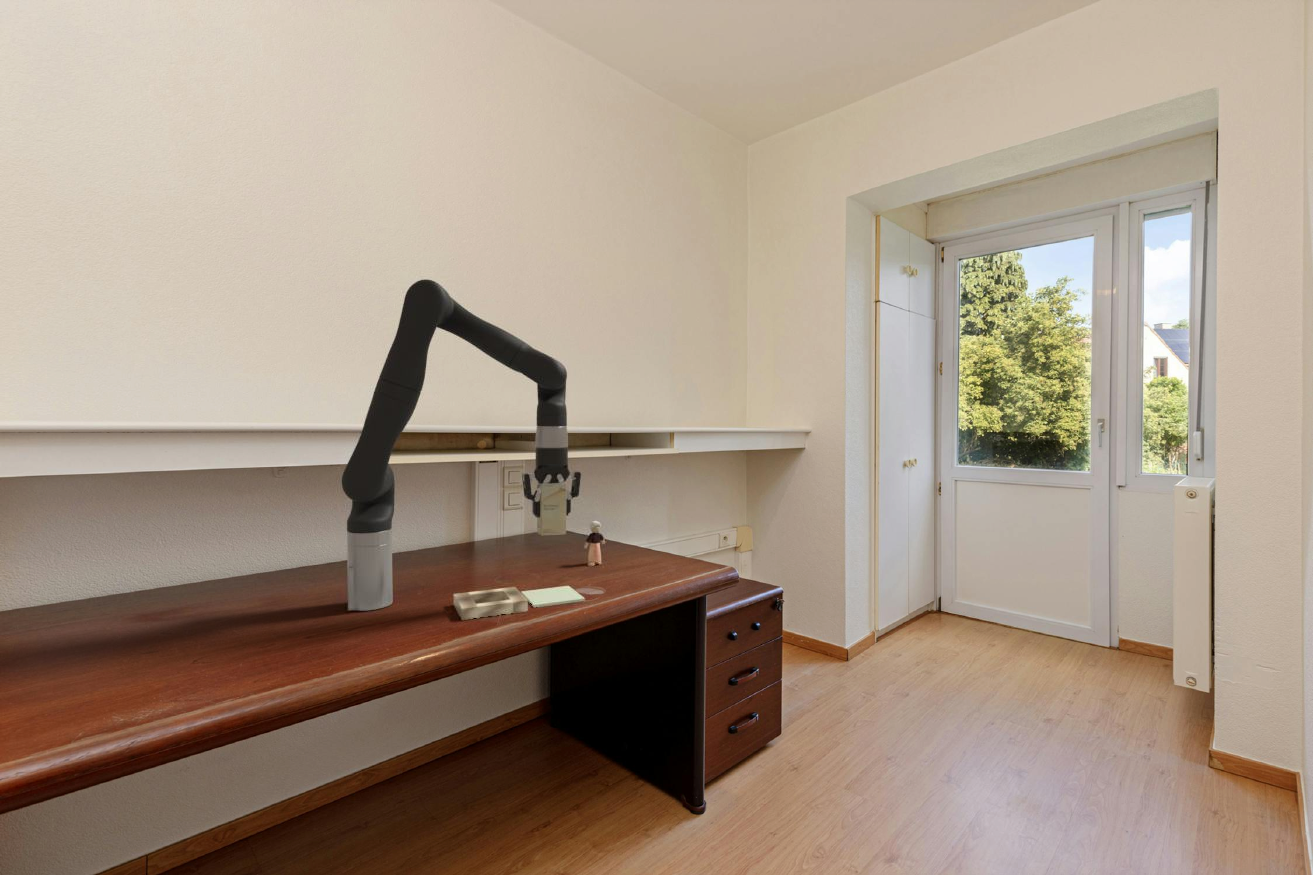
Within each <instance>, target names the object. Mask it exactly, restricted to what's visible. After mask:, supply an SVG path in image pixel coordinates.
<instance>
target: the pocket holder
mask: <svg viewBox="0 0 1313 875" xmlns="http://www.w3.org/2000/svg"><path fill="white" fill-rule="evenodd" d="M453 606H454V608H455V610H456V612H457V614H458V616H459V618H460V617H461V618H460V619H461V621H462V620H463V621H469V619H470V620H474V619H473V618H477V619H481V618H480V617H484V618H489V617H488V616H492V617H497V615H499V616H502V615H501V614H506V615H512V614H511V613H513V614H518V613H519V614H520V613H526V612H527V611H529V610H528V609H529V602H528V600H527V599H526V598H525V597H524V596H523V595H522V594H521V591H520V590H518V588H516V586H511V587H503V588H493V589H487V590H486V589H485V590H477V591H476V590H475V591H468V592H461V593H459V592H458V593H453Z"/></svg>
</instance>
